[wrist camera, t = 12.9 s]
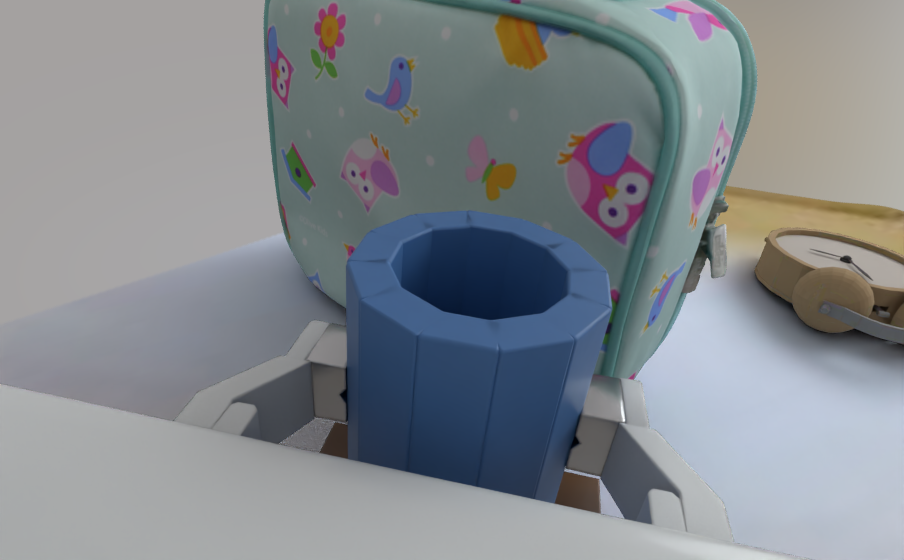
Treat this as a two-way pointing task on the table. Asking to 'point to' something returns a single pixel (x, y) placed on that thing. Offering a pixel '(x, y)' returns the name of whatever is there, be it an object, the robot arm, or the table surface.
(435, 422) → the blue faceted hollow tube
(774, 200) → the table surface
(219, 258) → the table surface
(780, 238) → the alarm clock
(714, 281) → the table surface
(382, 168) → the lunch box
